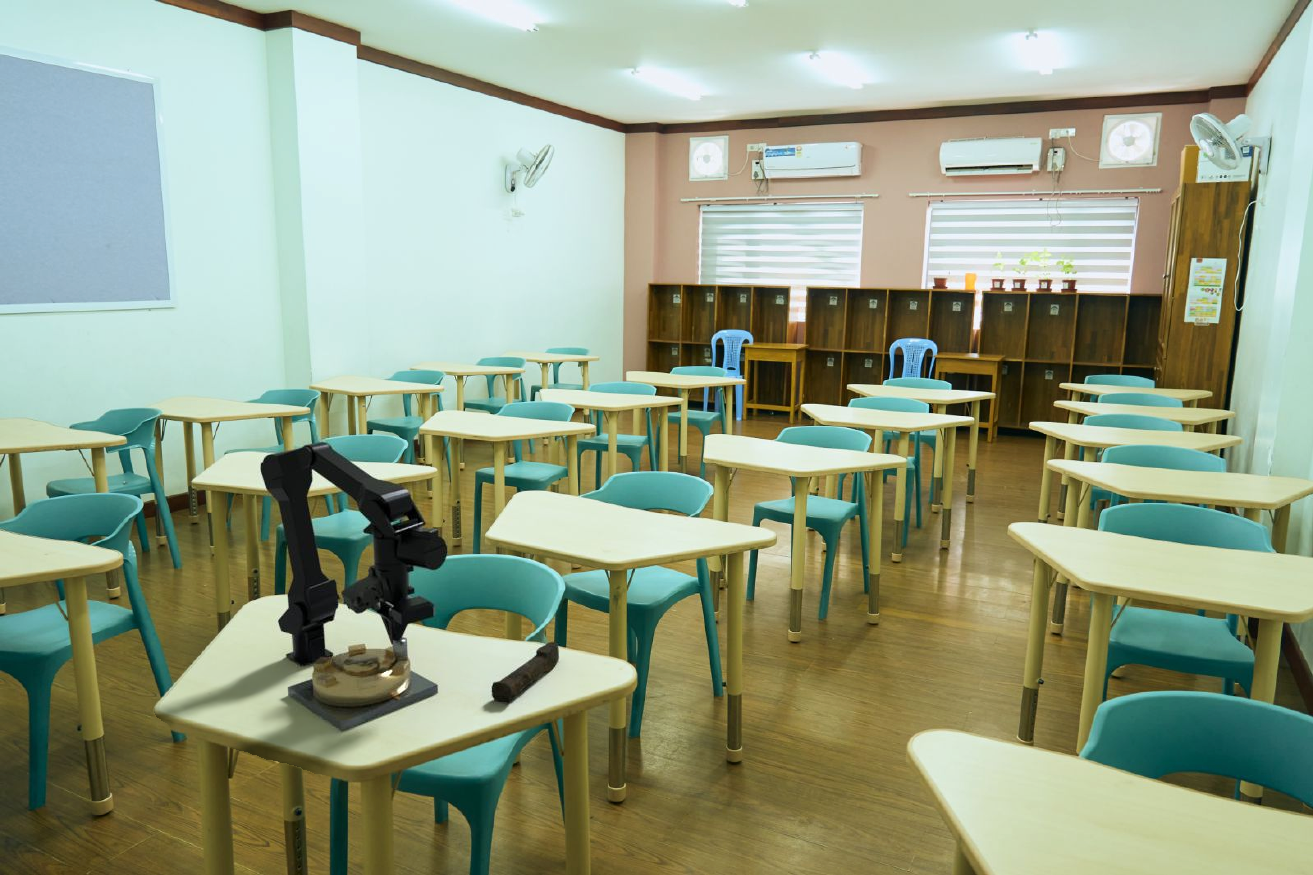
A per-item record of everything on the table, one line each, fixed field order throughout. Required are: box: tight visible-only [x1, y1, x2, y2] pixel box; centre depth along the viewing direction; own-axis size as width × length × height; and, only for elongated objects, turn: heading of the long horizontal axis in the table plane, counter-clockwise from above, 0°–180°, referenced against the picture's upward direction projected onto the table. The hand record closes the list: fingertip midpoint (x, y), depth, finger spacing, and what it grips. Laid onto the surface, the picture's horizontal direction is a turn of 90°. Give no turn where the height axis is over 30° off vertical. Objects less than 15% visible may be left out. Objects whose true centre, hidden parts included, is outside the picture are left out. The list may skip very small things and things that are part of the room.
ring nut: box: [311, 636, 412, 707], centre depth 152 cm, size 16×16×7 cm
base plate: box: [287, 670, 439, 732], centre depth 153 cm, size 18×18×2 cm
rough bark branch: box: [491, 641, 560, 704], centre depth 158 cm, size 19×4×5 cm, turn 153°
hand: (395, 644), depth 156 cm, fingers closed
